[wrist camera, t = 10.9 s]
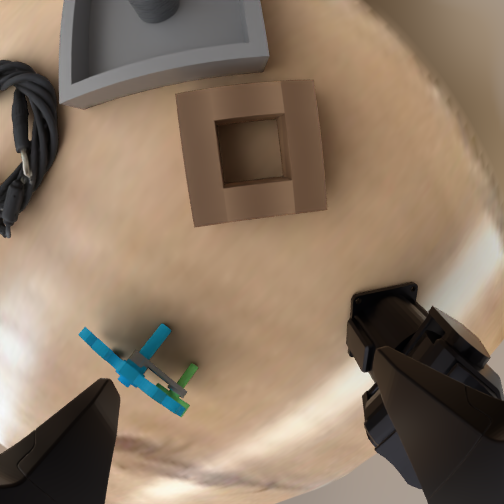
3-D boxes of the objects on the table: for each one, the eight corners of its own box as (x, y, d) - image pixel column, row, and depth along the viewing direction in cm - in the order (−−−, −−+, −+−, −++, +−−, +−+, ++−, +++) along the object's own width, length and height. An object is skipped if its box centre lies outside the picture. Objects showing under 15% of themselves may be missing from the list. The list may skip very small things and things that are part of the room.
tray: (241, -54, 12) (243, -78, 9) (262, 71, 17) (269, 56, 13) (87, -19, 12) (70, -36, 9) (83, 109, 16) (59, 103, 13)
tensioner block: (301, 89, 17) (313, 79, 15) (313, 201, 20) (327, 210, 17) (183, 102, 17) (175, 94, 14) (199, 216, 20) (194, 227, 17)
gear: (64, 328, 20) (90, 362, 13) (106, 281, 23) (153, 287, 16) (148, 399, 25) (207, 443, 18) (181, 356, 28) (248, 383, 21)
